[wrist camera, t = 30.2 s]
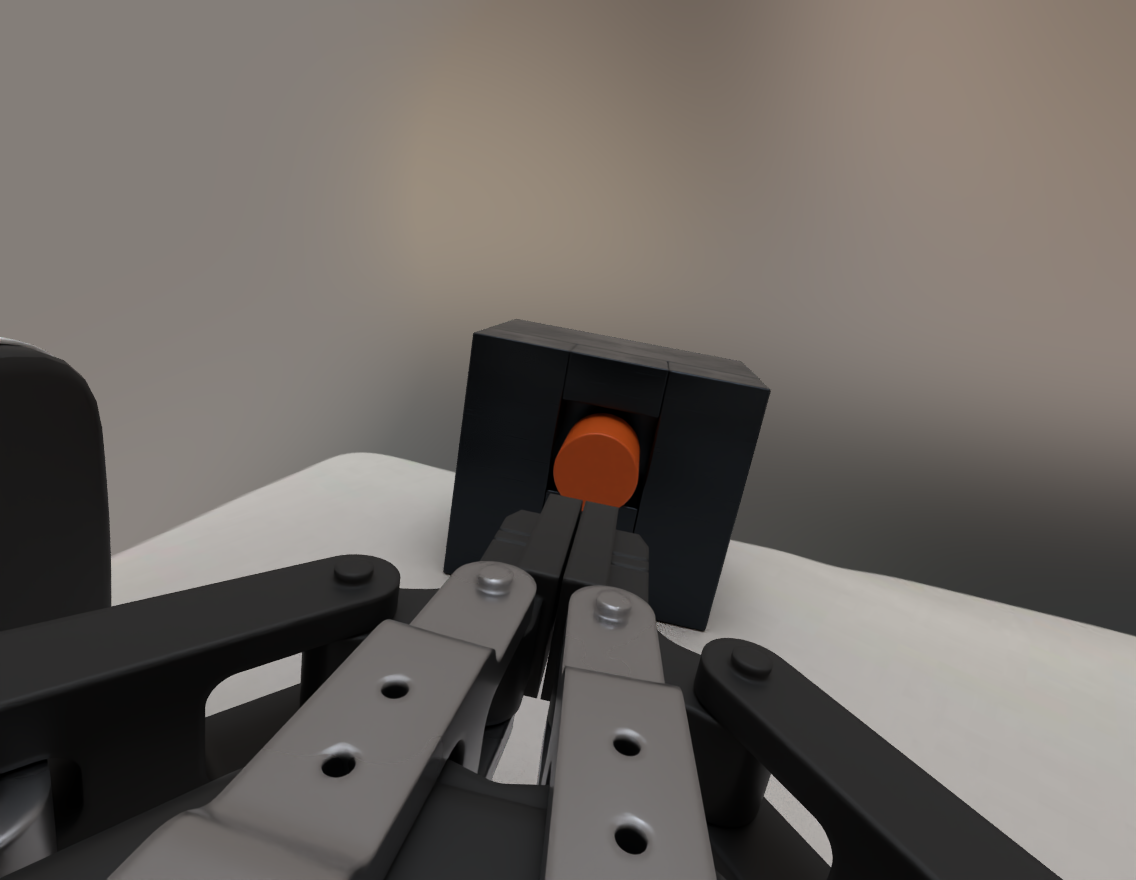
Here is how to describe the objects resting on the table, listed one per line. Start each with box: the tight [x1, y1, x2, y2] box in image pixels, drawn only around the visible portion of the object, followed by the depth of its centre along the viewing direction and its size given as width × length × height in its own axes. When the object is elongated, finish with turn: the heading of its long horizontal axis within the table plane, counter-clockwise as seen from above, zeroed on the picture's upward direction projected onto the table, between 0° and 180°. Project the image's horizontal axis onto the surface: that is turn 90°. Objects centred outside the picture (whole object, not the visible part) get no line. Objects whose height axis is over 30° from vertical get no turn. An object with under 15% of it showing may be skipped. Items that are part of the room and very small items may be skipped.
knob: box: [553, 413, 640, 511], centre depth 24 cm, size 4×3×3 cm
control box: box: [443, 319, 771, 631], centre depth 29 cm, size 8×12×11 cm, turn 82°
